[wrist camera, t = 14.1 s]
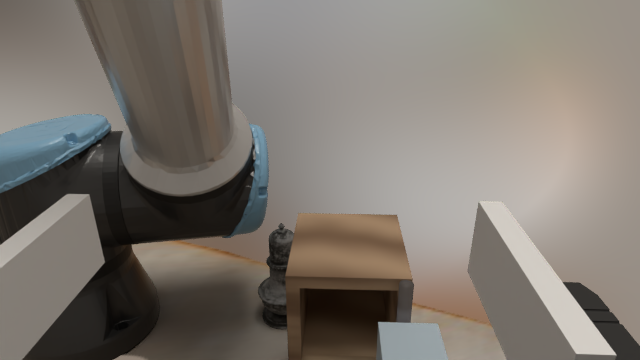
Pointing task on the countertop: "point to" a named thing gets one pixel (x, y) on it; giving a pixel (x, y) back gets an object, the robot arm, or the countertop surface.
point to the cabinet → (345, 285)
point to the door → (409, 341)
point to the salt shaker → (276, 279)
